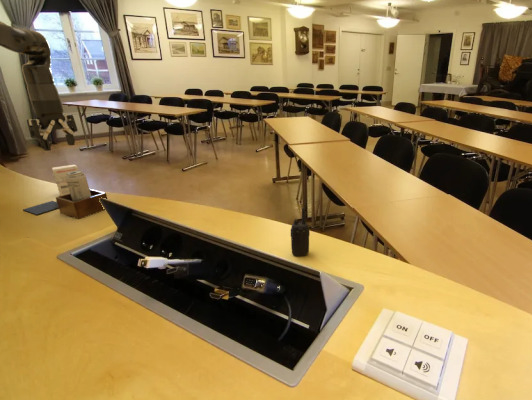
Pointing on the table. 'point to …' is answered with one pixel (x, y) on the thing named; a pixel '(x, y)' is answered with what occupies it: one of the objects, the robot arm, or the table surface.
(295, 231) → the two-way radio
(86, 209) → the brown wooden box
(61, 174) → the ink box
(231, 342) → the table surface
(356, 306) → the table surface
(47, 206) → the coaster
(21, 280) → the table surface
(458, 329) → the table surface
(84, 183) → the energy drink can
